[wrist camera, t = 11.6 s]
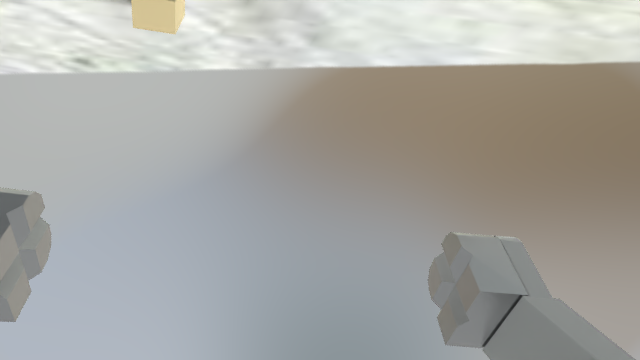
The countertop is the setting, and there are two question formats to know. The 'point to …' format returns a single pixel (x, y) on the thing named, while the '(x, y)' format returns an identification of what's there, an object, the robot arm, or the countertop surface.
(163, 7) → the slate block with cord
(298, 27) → the countertop surface
